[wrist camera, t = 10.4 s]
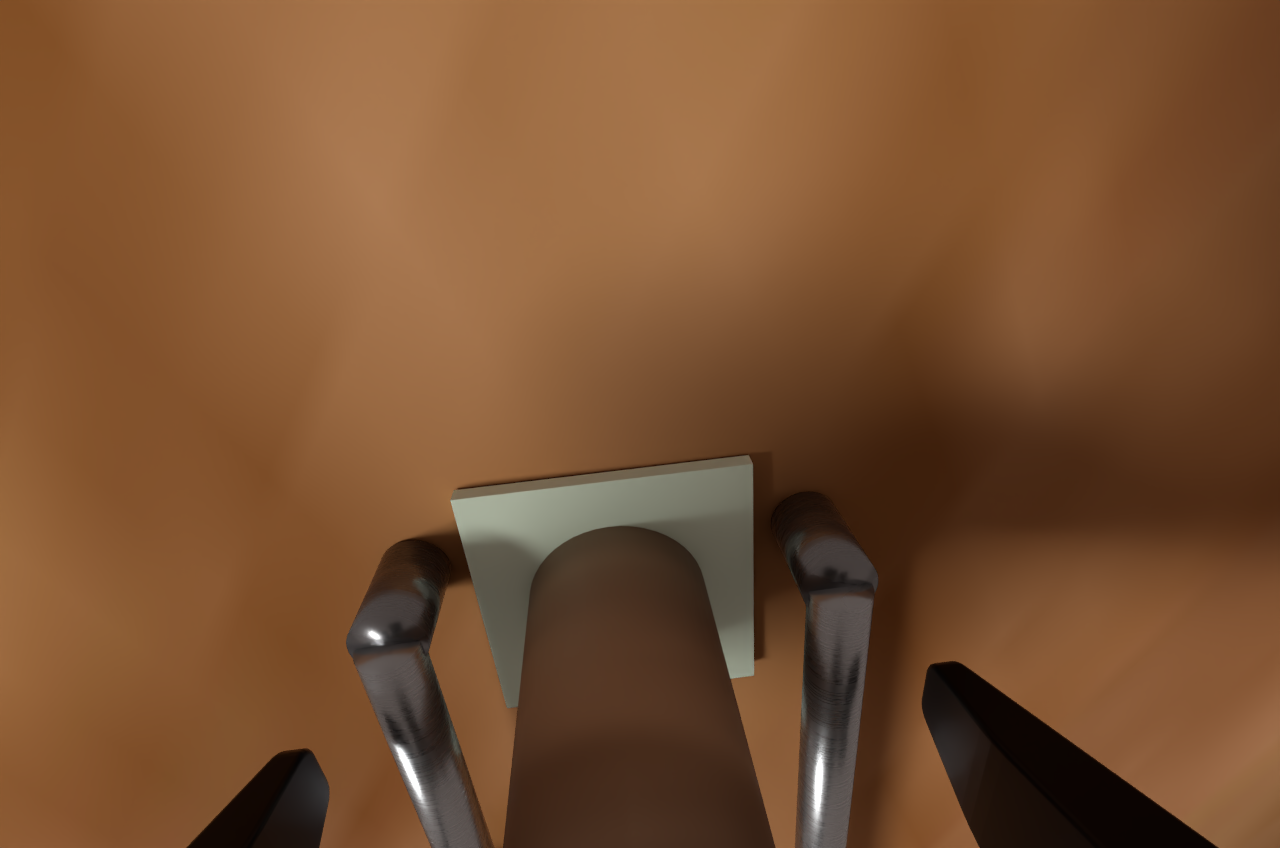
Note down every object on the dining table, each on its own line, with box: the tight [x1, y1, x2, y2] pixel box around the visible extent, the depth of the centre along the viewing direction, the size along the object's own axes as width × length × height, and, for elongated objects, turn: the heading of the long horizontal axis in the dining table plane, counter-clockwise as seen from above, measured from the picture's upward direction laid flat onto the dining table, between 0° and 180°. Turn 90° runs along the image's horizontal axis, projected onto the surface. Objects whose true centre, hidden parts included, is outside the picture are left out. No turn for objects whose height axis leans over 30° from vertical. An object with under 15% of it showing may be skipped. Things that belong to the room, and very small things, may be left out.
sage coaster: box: [450, 455, 754, 708], centre depth 11 cm, size 5×5×1 cm
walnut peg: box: [503, 526, 775, 848], centre depth 8 cm, size 3×3×8 cm
